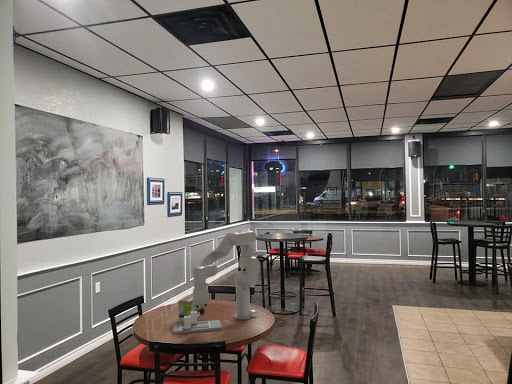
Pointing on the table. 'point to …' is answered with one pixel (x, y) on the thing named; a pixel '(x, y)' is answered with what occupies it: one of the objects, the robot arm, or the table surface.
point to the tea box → (186, 307)
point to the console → (198, 327)
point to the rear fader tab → (194, 317)
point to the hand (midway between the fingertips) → (202, 314)
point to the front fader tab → (187, 322)
